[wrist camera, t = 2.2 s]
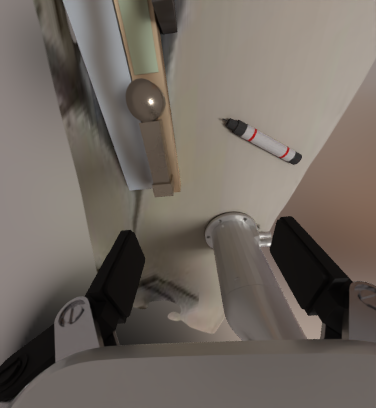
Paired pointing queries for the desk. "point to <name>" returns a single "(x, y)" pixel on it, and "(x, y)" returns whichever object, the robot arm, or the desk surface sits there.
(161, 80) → the doorframe
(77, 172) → the desk surface
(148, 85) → the door handle
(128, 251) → the robot arm
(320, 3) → the desk surface
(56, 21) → the desk surface
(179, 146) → the desk surface
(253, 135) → the marker
